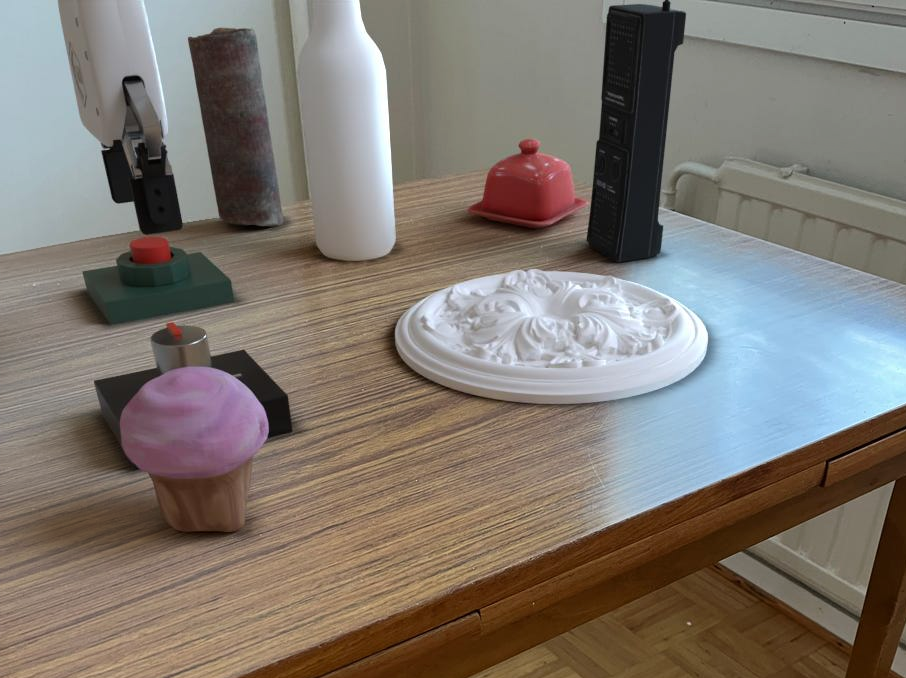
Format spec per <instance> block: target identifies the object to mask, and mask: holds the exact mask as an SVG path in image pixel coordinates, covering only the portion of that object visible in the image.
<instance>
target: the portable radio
mask: <svg viewBox="0 0 906 678" xmlns="http://www.w3.org/2000/svg"><path fill="white" fill-rule="evenodd" d="M671 4H672V3H671V1H670V0H664V1H662V6H659V5H654V4H645V3H632V4H631V3H630V4H617V5H616V4H615V5H610V6H609V7H608V11H607V12H608V13H607V14H606V21H605V24H606V25H605V39H604V53H603V68H602V79H601V96H600V97H601V98H600V100H601V105H600V106H601V108H600V121H599V135H598V140H596V143H595V144H596V145H595V155H594V157H595V158H594V165H593V177H592V178H593V179H592V188H591V198H590V206H589V207H590V209H589V217H588V224H587V232H586V240H585V241H586V242H587V243H588V246H590V247H591V248H592V249H594V250H595V251H597V252H599V253H601V254H602V255H605V256H606V257H608V258H609V259H611V260H613V261H614V262H617V263H624V262H630V261H637V260H643V259H648V258H652V257H654V256H657V255H659V254H661V251H662V243H663V234H664V225H663V224H661V223H660V222H659V211H660V200H661V191H662V190H661V189H662V179H663V170H664V161H665V150H666V140H667V130H668V123H669V111H670V101H671V94H672V93H671V92H672V91H671V90H672V81H673V73H674V72H673V71H674V62H675V53H676V50H677V49H678V48H679V46H681V45H683V44H684V40H685V39H684V38H685V30H686V20H687V12H686V11H684V10H678V9H673V8H671Z"/></svg>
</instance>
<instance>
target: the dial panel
mask: <svg viewBox="0 0 906 678" xmlns="http://www.w3.org/2000/svg"><path fill="white" fill-rule="evenodd" d="M211 359H212V365H213V368H214V369H218V370H221V371H224V372H226V373H228V374H230V375H232V376H234V377H235V378H237V379H238V380H239V381H240V382H242V383H243V384H244V385H245V386H247V387H248V388H249V389H250V390H251V391H252V393H253V394H254V395H255V397H256V398H257V399H258V401H259V402H260V403H261V405H262V406H263V408H264V410H265V412H266V416H267V419H268V426H269V432H268V437H267V439H268V438H272V437H277V436H281V435H284V434H288V433H293V432H294V430H293V424H292V423H293V422H292V416H291V408H290V403H289V402H290V401H289V395H288V394H287V393H286V392H285V391H284V390H283V389H282V388H281V387H280V385H278V383H276V381H275V380H274V379H273V378H272V377H271V376H270V375H269V374H268V373H267V372H266V371H265V370H264V369H263V368H262V367H261V366H260V365H259V364H258V363H257V361H255V359H254V358H253V357H252V356H251V355H250V354H249V353H248V352H247V351H246V350H245V349H240V350H235V351H231V352H225V353H221V354H216V355H211ZM157 377H159V376H158V372H157V367H154V368H148V369H144V370H139V371H134V372H129V373H123V374H120V375H115V376H110V377H109V376H108V377H105V378H99V379H95V380H93V384H94V388H95V392H96V395H97V400H98V403H99V406H100V410H101V411H100V412H101V414H102V417H103V418H104V420H105V422H106V424H107V426H108V427H109V429H110V430H111V431H110V432H112V434H113V436H114V437H115V439H116V441H117V442H118V444H119V446H120V447H121V449H122V451H123V453H124V454H125V452H124V449H123V447H122V443H121V431H120V418H121V414H122V411H123V409H124V408H125V407H126V405H127V404H128V403H129V402H130V401H131V399H132V398H133V397H134V396H135V395H136V394H137V393H138V392H139V390H140V389H141V387H142V386H143V385H145V384H146V383H147V382H149V381H151V380H152V379H155V378H157ZM125 456H126V458H127V460H128V461H129V463H130V465H131V466H132V468H133V470H134V471H137V470H140V469H139V468H138V467H137V466H136V465H135V464H134V463H133V462H132V461H131V460H130V459H129V458H128V457H127V455H126V454H125Z"/></svg>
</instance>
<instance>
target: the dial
mask: <svg viewBox="0 0 906 678" xmlns="http://www.w3.org/2000/svg"><path fill="white" fill-rule="evenodd" d="M165 326H166V327H165V328H162V329H159V330H157V331H155V332H153V333H152V334H151V336H150V339H149V340H150V344H151V349H152V353H153V358H154V362H155V368H157V372H158V376H161V375H163V374H165V373H166V372H169V371H171V370H174V369H179V368H184V367H210V368H213V365H212V359H211V356H212V355H211V349H210V344H209V339H208V334H207V331H206V330H205V329H204V328H202V327H200V326H195V325H185V324H184V325H177V324H176V323H175V322H174V321H172V322H167V323H165Z"/></svg>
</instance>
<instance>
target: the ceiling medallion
mask: <svg viewBox="0 0 906 678" xmlns="http://www.w3.org/2000/svg"><path fill="white" fill-rule="evenodd" d="M394 340H395V348H396V351H397V354H398V355H399V357H400V358H401V360H402V361H403V362H404V363H405V364H406V365H407V366H408V367H409V368H411V369H412V370H413V371H415V372H416V373H417V374H419V375H421V376H422V377H424V378H426V379H428V380H430V381H432V382H434V383H436V384H439V385H441V386H444V387H446V388H449V389H452V390H455V391H458V392H462V393H465V394H469V395H474V396H478V397H483V398H487V399H493V400H499V401H507V402H515V403H523V404H524V403H525V404H526V403H527V404H537V405H540V404H542V405H572V404H573V405H574V404H576V405H579V404H590V403H601V402H608V401H609V402H610V401H616V400H622V399H627V398H632V397H636V396H639V395H644V394H647V393H651V392H654V391H658V390H660V389H662V388H665V387H667V386H670V385H673V384H674V383H676V382H678V381H680V380H682V379H684V378H685V377H687V376H689V375H690V374H691V373H692V372H694V370H696V369H697V368H698V367H699V366H700V365H701V364H702V362H703V360H704V358H705V356H706V354H707V350H708V342H709V335H708V331H707V328H706V325H705V324H704V323H703V321H702V320H701V319H700V318H699V316H697V315H696V314H695V313H694V312H693V311H692V310H691V309H689V308H688V307H686V306H685V305H684V304H683V303H681V302H679V301H677V300H676V299H674V298H673V297H670V296H668V295H666V294H664V293H661V292H660V291H658V290H655V289H652V288H650V287H648V286H645V285H643V284H640V283H636V282H632V281H630V280H625V279H621V278H618V277H614V276H613V275H609V274H608V275H601V274H594V273H586V272H578V271H577V272H575V271H562V270H561V271H560V270H559V271H558V270H557V271H556V270H541V269H537V268H530V269H528V270H527V271H524V270H522V269H515V270H514V269H513V270H512V271H510V272H507V273H505V272H504V273H499V274H498V273H497V274H492V275H491V274H490V275H487V276H481V277H477V278H473V279H469V280H465V281H462V282H458V283H456V284H453V285H449V286H447V287H446V288H442V289H440V290H438V291H436V292H433V293H432V294H429V295H428V296H426V297H424V298H422V299H420V300H419V301H418V302H417V303H415V304H413V305H412V306H411V307H409V308H408V309H407V310H406V311H404V313H403V314H402V315H401V316H400V317H399V319H398V321H397V322H396V325H395V331H394Z"/></svg>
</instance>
